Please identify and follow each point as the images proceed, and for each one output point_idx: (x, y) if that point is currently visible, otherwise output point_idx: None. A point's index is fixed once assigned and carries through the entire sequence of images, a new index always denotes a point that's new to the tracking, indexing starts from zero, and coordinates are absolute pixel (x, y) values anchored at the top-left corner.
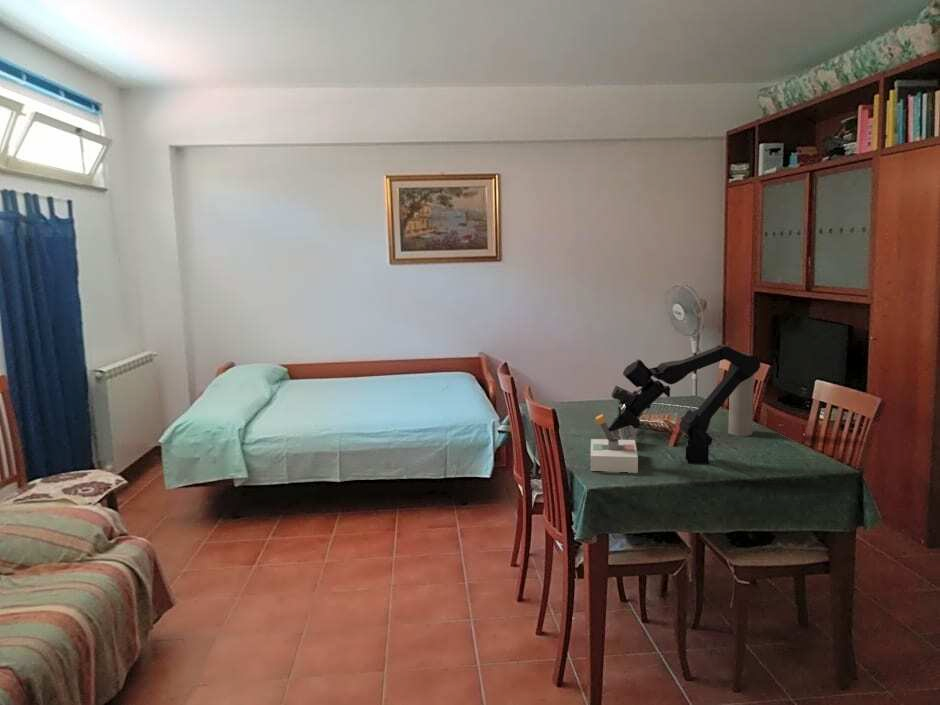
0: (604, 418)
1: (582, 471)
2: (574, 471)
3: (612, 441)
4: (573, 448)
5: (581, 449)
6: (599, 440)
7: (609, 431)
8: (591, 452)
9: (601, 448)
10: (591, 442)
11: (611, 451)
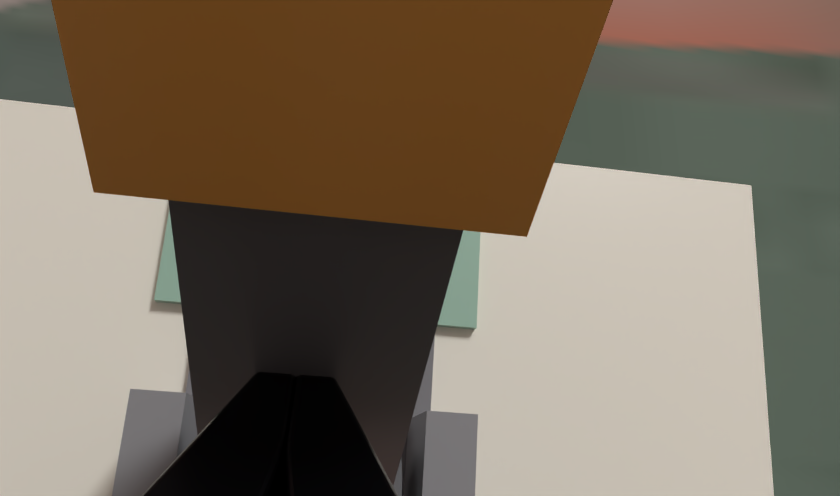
0: (279, 119)
1: (5, 94)
2: (17, 14)
3: None
4: (814, 88)
5: (793, 163)
6: (693, 302)
7: (194, 396)
8: (53, 117)
9: None
10: (579, 174)
11: (66, 444)
